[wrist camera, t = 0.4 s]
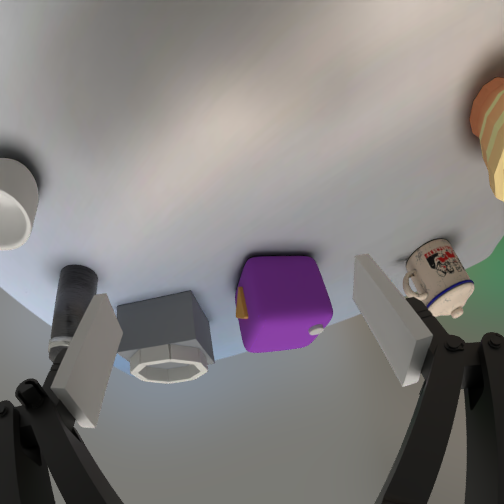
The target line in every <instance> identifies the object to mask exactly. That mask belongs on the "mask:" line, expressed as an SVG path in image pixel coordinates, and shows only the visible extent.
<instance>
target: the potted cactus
mask: <svg viewBox="0 0 504 504" xmlns="http://www.w3.org/2000/svg"><path fill="white" fill-rule="evenodd" d="M469 120H470V124H471V128H472V133H473V134H474V135H476V136H477V137H478V138H480V144H481V150H482V156H483V159H484V162H485V164H486V166H487V169H488V172H489V182H490V187H491V189H492V191H493V193H494V195H495V197H496V198H498V199H500V200H501V201H503V202H504V78H501V77H496V78H494V79H493V80H491V81H490V82H488V83H487V84H485V85H484V86H483V87H482V89H481V90H480V92H479V93H478V95H477V96H476V98H475V100H474V101H473V105H472V110H471V114H470V119H469Z"/></svg>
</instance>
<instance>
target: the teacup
mask: <svg viewBox="0 0 504 504" xmlns="http://www.w3.org/2000/svg"><path fill="white" fill-rule="evenodd" d="M38 202H39V193H38V188H37V184H36V181H35V179H34V177H33V175H32V174H31V172H30V171H29V170H28V169H27V168H26V167H25V166H24V165H23V164H21V163H20V162H18V161H16V160H13V159H9V158H0V250H12V249H16V248H18V247H20V246H22V245H23V244H24V243H25V242H26V241H27V240H28V238H29V236H30V234H31V231H32V227H33V223H34V219H35V215H36V211H37V207H38Z"/></svg>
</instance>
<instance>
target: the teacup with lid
mask: <svg viewBox="0 0 504 504" xmlns="http://www.w3.org/2000/svg"><path fill="white" fill-rule="evenodd" d="M406 268H407V271H408V273H407V274H406V275H405V277H404V279H403V289H404V291H405V293H406V295H407V296H408V297H409V298H410V297H415V298H417V299H418V300H422V302H423V303H424V304H425V306H426V307H427V308H428V310H430V312H431V313H432V314H433V316H434V317H435V316H439V315H450V314H451V315H452V317H453V318H457V317H459V316H460V315H461V314H463V309H462V307H463V306H464V305H465V303H466V301H467V299H468V298H469V296H470V295H471V294H472V292H473V290H474V282H473V281H472V280H470V278H469V276H468V274H467V273H466V271H465V269H464V267H463V266H462V264H461V262H460V260H459V259H458V257H457V255H456V254H455V252H454V250H453V249H452V247H451V245H450V244H449V242H448V241H447V240H444V239H437V240H433V241H431V242H429V243H427V244H425V245H423V246H422V247H420V248H419V249H418V250H416V251H415V252H414V253H413V254H412V256H411V257H410V258H409V260H408V262H407V266H406ZM410 277H411V279H412V281H413V283H414V285H415V287H416V289H417V291H418V293H419V294H417V293H415V292H413V291H412V290H411V288H410V286H409V278H410Z"/></svg>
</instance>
